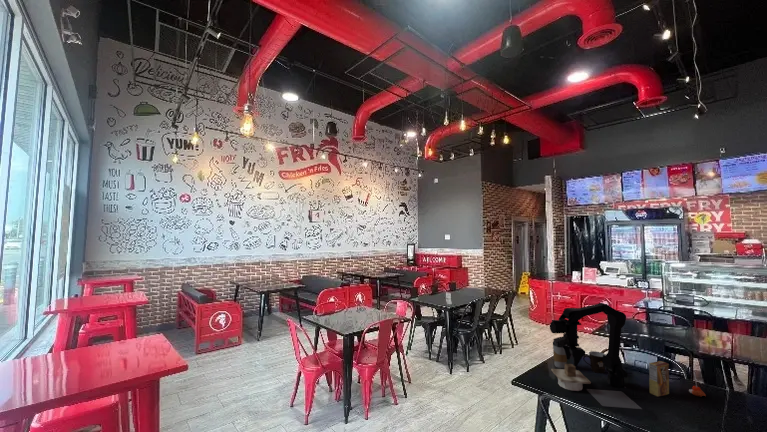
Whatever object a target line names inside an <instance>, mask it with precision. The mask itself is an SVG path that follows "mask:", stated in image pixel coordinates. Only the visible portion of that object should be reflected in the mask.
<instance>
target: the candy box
mask: <svg viewBox="0 0 767 432" xmlns="http://www.w3.org/2000/svg"><path fill="white" fill-rule="evenodd" d="M648 365H649V366H648V367H649V368H648V369H649V370H648V371H649V372H648V373H649V379H648V380H649V381H648V383H649V394H650V395H653V396H655V397H662V396H667V395H669V394H670V377H669V376H670V364H669V363H667V362H665V361H661V360H658V361H654V362H649V363H648Z"/></svg>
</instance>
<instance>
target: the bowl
mask: <svg viewBox="0 0 767 432" xmlns="http://www.w3.org/2000/svg"><path fill="white" fill-rule="evenodd" d="M557 384H558V385H559V387H561V388H563V389H565V390H568V391H574V392H579V391H582V390H583V387H584V386H583V385H584V383H570V382H561V381H560V380H559V379H558V378H557Z"/></svg>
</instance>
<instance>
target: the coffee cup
mask: <svg viewBox="0 0 767 432" xmlns="http://www.w3.org/2000/svg"><path fill="white" fill-rule="evenodd" d="M552 351H553V352H552V354H553V362H554V363H553V364H554V366H555V367H556V368H557V369H565V364H568V359H567V357H566V354H565V351H564V348H563V347H562V346H561V347H557V346H556V345H555V343H554V340H553V341H552Z"/></svg>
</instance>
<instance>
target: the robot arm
mask: <svg viewBox="0 0 767 432" xmlns="http://www.w3.org/2000/svg"><path fill="white" fill-rule="evenodd" d="M600 313H603V314H605V315H606V319H607V322H608V324H609V333H608V335H609V337H608V345H607V348H608V349H607V353H605V354H606V355H603V361H602V362H603V365H604V367H605V371H607V372H608V375H607V384H608V385H609V386H611V387H612V388H616V389H617V388H618V389H627V387H626V385H625V378H627V377H628V372H627V371H626V370H625V369H624V368H623V361H622V359H621V357H620V348H621V337H622V336H621V335H622V328H623V327H624V326H625V324H626V321H627V315H626V314H625V312H622V311H620V310H617V309H615V308H614V307H611V306H610V305H609V304H608V303H607V304H606V303H604V302H599V303H596V304H592V305H588V306H584V307H583V306H581V307H566V308H564V309H563V311H562V313H561V315H560V316H559V317H558V319H552V320H551V322H550V324H549V329H550V332H551V333H552V334H562V335H563V336H558V337H556V338H553V341H554V343H555V345H556V346H557V347H561V346H562V347H563V348H564V351H565V354H566V357H567V361H568V360H569V361H570V359H571V356H572V359H573V365H574V366H575V367H578V365H579V363H580V362H581V360H583V357H584V356H586V351H585V350H584V349H583V348H582V347H581V346H580V344H579V343H578V342H579V340H578V339H580V336H579V335H578V326H582V323H581V322H580V321H579V320H582V319H583V318H584V317H587V316H592V315H596V314H600Z"/></svg>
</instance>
